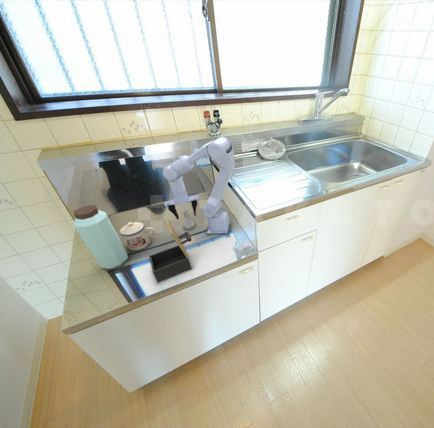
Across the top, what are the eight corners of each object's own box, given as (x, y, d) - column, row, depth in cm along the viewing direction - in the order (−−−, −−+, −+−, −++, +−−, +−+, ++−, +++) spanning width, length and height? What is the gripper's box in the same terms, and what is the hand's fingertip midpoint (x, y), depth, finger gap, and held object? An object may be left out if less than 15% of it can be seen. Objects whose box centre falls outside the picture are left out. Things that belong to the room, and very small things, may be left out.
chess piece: (192, 222, 116) (186, 205, 111) (196, 226, 114) (191, 209, 108) (183, 226, 114) (177, 209, 108) (187, 230, 111) (181, 213, 106)
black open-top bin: (157, 283, 85) (152, 272, 82) (153, 266, 92) (148, 255, 89) (191, 268, 91) (188, 258, 87) (185, 253, 98) (181, 243, 95)
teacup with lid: (127, 253, 98) (115, 232, 92) (128, 241, 105) (118, 220, 98) (158, 245, 102) (149, 224, 96) (158, 233, 109) (149, 213, 103)
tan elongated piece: (170, 233, 79) (184, 226, 81) (165, 219, 86) (177, 213, 88) (187, 258, 87) (198, 251, 89) (180, 243, 94) (191, 237, 96)
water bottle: (108, 274, 88) (74, 221, 75) (96, 264, 93) (61, 212, 79) (134, 258, 96) (107, 207, 82) (121, 250, 100) (94, 200, 86)
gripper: (160, 198, 97) (170, 224, 105) (196, 191, 102) (203, 217, 110) (161, 191, 103) (170, 216, 110) (195, 185, 107) (201, 209, 115)
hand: (186, 216), depth 110 cm, fingers open, 7 cm apart
